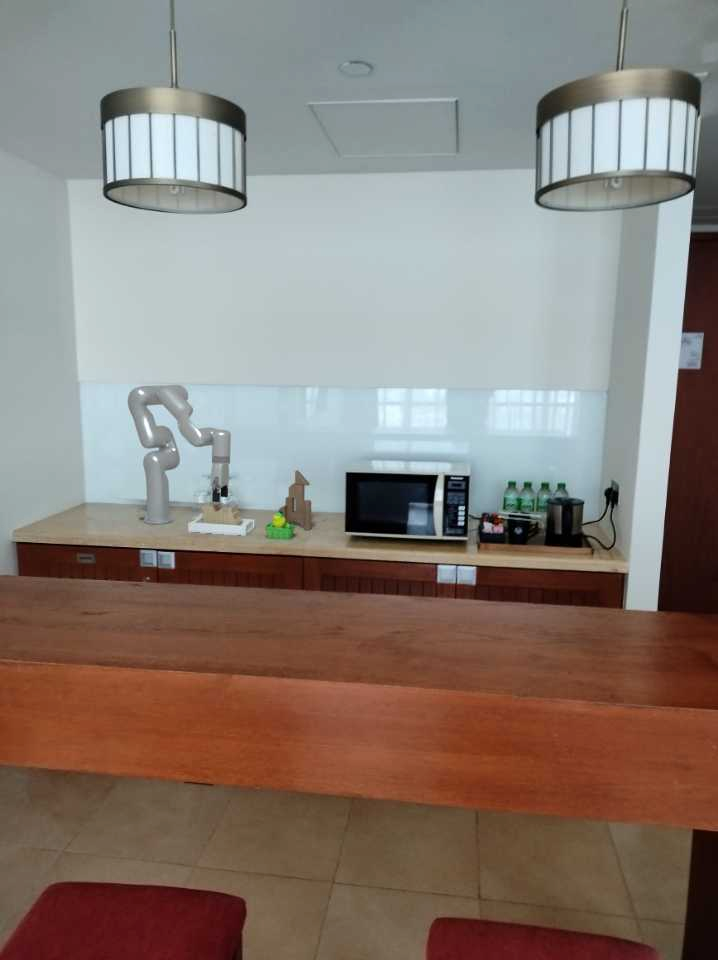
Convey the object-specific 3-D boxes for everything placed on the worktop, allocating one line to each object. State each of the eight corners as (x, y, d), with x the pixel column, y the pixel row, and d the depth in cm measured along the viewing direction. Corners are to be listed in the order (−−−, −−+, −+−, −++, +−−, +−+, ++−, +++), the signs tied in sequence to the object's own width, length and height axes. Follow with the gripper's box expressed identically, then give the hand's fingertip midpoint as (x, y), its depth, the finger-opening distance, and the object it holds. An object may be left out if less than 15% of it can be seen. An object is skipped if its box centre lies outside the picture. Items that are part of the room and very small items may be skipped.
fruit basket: (296, 536, 285) (296, 510, 283) (289, 541, 277) (290, 514, 275) (270, 534, 287) (270, 508, 285) (263, 539, 279) (263, 512, 277)
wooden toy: (276, 527, 299) (276, 471, 295) (282, 523, 306) (283, 468, 301) (309, 530, 295) (309, 473, 290) (315, 527, 301) (315, 471, 296)
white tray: (188, 532, 287) (188, 523, 287) (200, 525, 300) (200, 516, 299) (245, 536, 284) (245, 526, 283) (255, 528, 296) (255, 519, 296)
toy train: (236, 531, 287) (236, 508, 285) (201, 527, 292) (200, 504, 290) (243, 528, 292) (242, 505, 290) (207, 524, 297) (207, 502, 295)
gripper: (219, 455, 295) (218, 494, 299) (204, 462, 279) (204, 502, 282) (236, 457, 294) (235, 496, 298) (222, 463, 278) (221, 504, 281)
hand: (220, 499), depth 290 cm, fingers open, 9 cm apart
